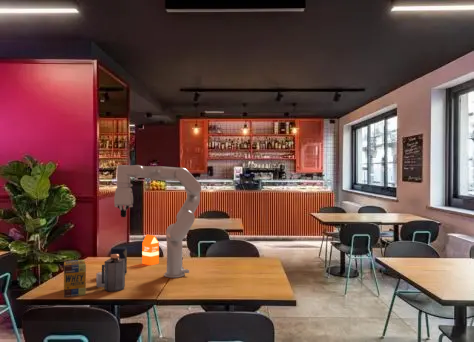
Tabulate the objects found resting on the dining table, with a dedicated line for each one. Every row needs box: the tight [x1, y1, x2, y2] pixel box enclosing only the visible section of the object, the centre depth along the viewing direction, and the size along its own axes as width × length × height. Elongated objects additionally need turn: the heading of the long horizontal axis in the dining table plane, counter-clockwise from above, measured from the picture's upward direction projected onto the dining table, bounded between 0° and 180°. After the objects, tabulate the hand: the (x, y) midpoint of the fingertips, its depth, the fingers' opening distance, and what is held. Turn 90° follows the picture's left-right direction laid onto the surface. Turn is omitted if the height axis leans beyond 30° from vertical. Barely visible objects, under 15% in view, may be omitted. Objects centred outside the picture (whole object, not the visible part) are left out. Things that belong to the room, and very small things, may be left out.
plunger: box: [110, 253, 119, 262], centre depth 215 cm, size 7×7×13 cm
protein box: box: [63, 259, 87, 298], centre depth 209 cm, size 10×15×16 cm
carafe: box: [101, 258, 126, 293], centre depth 215 cm, size 12×10×16 cm
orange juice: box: [141, 234, 160, 266], centre depth 278 cm, size 8×9×20 cm
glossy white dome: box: [95, 271, 105, 288], centre depth 221 cm, size 7×7×7 cm
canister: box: [110, 245, 128, 275], centre depth 246 cm, size 10×10×18 cm
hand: (123, 216), depth 234 cm, fingers closed
